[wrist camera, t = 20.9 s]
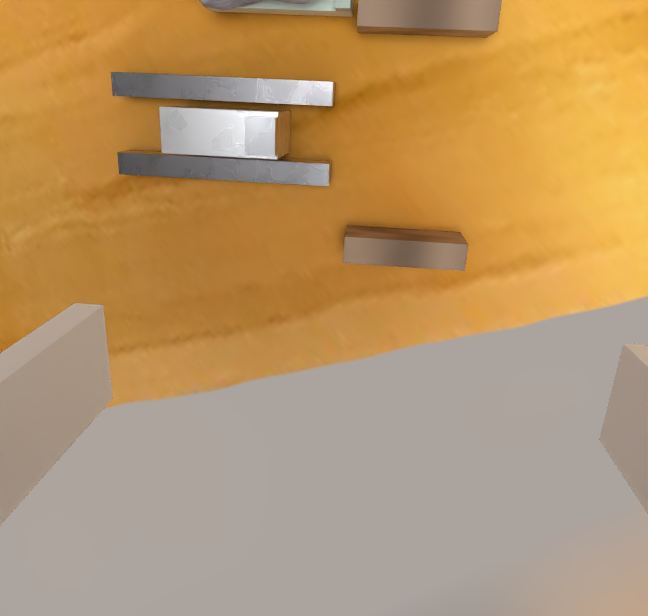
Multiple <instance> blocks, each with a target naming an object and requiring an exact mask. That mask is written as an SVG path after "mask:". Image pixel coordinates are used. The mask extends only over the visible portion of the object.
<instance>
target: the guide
mask: <svg viewBox="0 0 648 616" xmlns="http://www.w3.org/2000/svg"><path fill="white" fill-rule="evenodd" d="M111 79H112V91H113V96H129V97H150V98H171V99H192V100H213V101H234V102H255V103H276V104H297V105H318V106H334V104H335V82H326V81H303V80H281V79H258V78H236V77H214V76H191V75H169V74H147V73H124V72H111ZM118 164H119V174H125V175H143V176H160V177H178V178H195V179H213V180H230V181H248V182H265V183H283V184H300V185H318V186H329V184H330V182H331V167H332V161H330V160H311V159H293V158H279V159H262V158H244V157H225V156H207V155H188V154H170V153H162V151H145V150H127V151H122V152H118Z"/></svg>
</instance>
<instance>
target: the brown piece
mask: <svg viewBox="0 0 648 616" xmlns="http://www.w3.org/2000/svg"><path fill="white" fill-rule="evenodd" d="M501 2H502V0H358V15H357V28H358V32H359V33H378V34H404V35H429V36H455V37H481V38H486V37H488V36H490V35H492V34H493V33H495V32H497V31H498V24H499V16H500V9H501ZM467 250H468V243H467V242H466V240H465V239H464V237H463V236H462V234H461V232H445V231H429V230H413V229H396V228H380V227H364V226H348V225H347V229H346V233H345V241H344V258H343V263H352V264H367V265H382V266H398V267H413V268H428V269H443V270H458V271H465V264H466V257H467Z"/></svg>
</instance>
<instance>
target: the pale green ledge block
mask: <svg viewBox="0 0 648 616" xmlns="http://www.w3.org/2000/svg"><path fill="white" fill-rule="evenodd" d="M353 1H354V0H310V1H309V2H308V3H305V4H296V3H285V2H281V1H277V0H262V1H259V2H256V3H254V4H250V5H245V6H238V7H236V8H233V9H228V10H220V9H215V8H210V7H207V8H208V9H210V10H212V11H214V12H232V13H260V14H287V15H314V16H341V17H353Z"/></svg>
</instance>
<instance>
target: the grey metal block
mask: <svg viewBox="0 0 648 616" xmlns="http://www.w3.org/2000/svg"><path fill="white" fill-rule="evenodd" d="M159 113H160V131H161V149H162V153H170V154H188V155H207V156H225V157H244V158H262V159H279V158H280V157H282V156H284V155H285V154H287V153H289V152H290V130H291V111H285V110H265V109H244V108H223V107H203V106H163V107H159Z"/></svg>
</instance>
